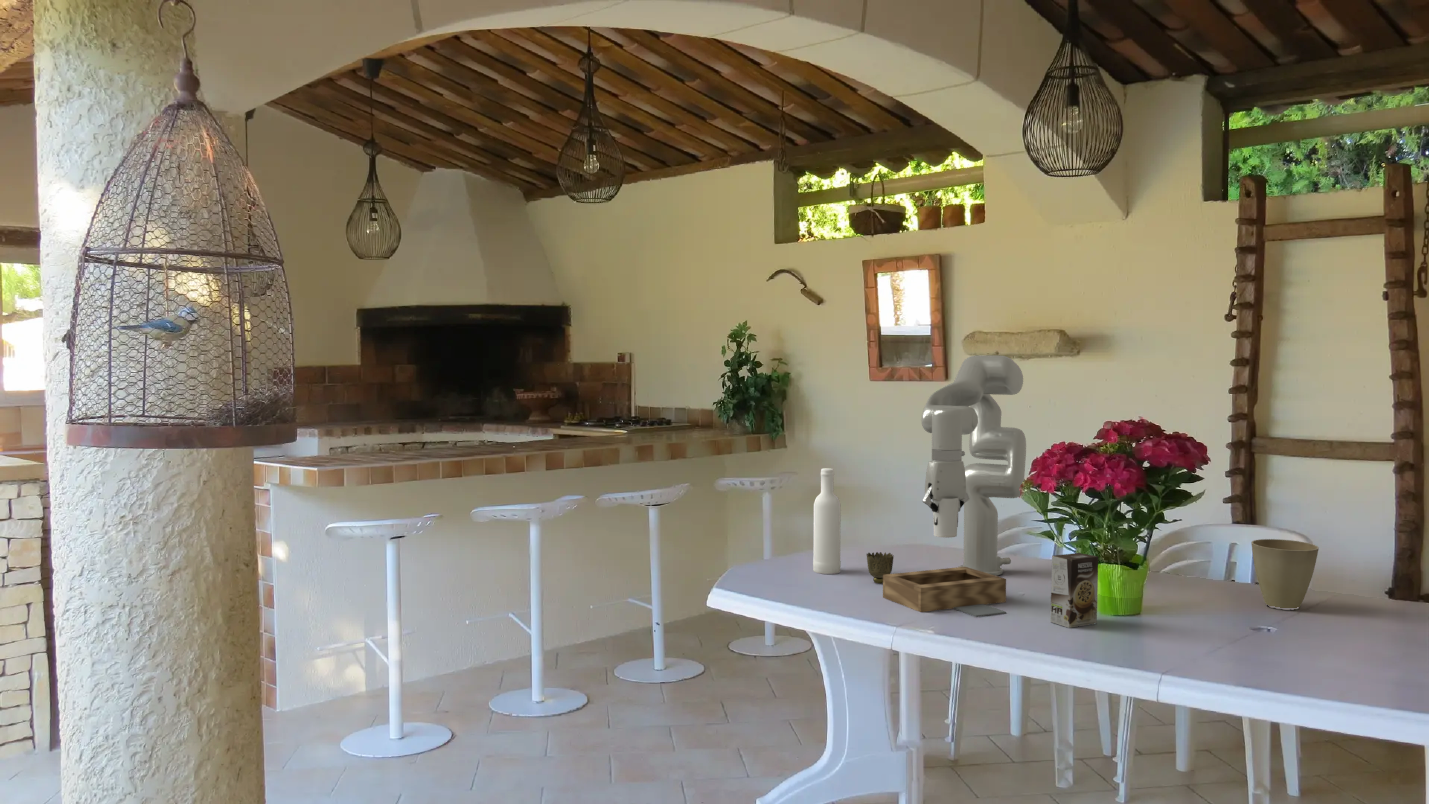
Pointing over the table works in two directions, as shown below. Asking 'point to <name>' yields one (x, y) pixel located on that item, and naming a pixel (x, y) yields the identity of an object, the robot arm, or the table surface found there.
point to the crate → (943, 588)
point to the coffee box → (1074, 590)
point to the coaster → (979, 610)
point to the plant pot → (1284, 570)
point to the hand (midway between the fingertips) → (945, 526)
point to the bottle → (827, 527)
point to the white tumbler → (946, 518)
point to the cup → (879, 565)
